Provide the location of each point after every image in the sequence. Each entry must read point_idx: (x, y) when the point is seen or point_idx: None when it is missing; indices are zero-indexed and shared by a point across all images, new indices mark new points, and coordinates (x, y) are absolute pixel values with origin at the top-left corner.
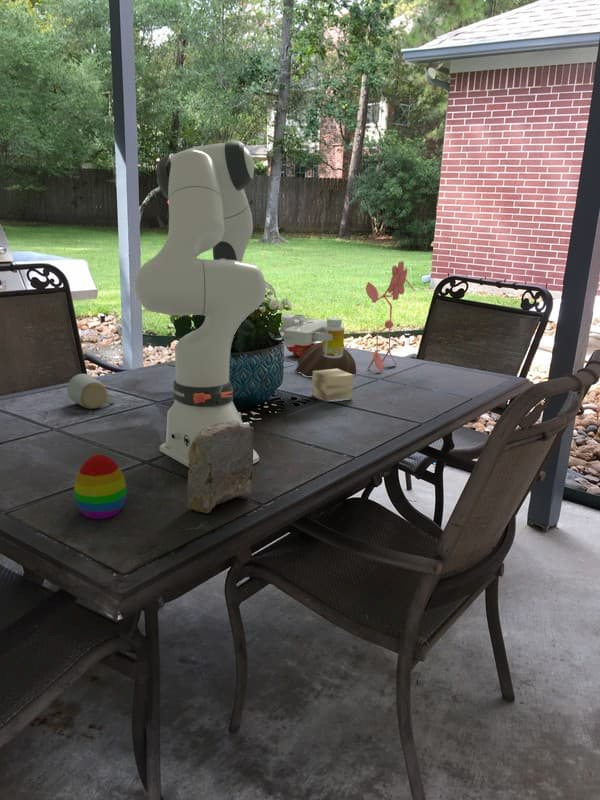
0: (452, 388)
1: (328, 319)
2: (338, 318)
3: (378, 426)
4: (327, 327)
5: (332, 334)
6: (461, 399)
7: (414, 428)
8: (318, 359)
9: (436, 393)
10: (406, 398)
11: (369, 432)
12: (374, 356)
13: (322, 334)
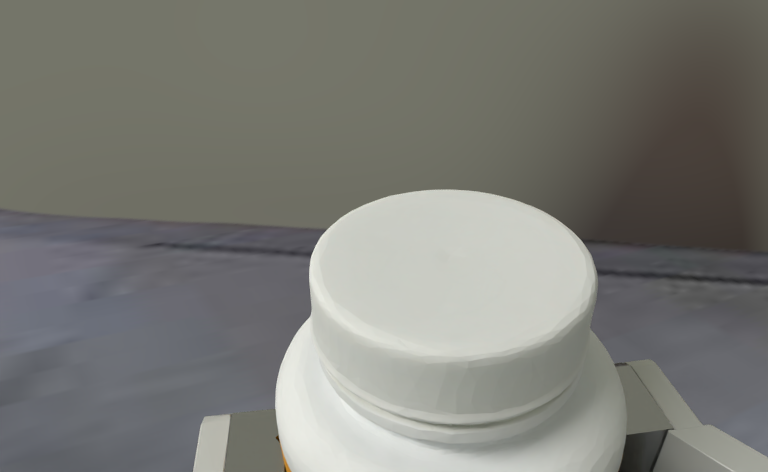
0: (4, 305)
1: (594, 297)
2: (369, 229)
3: (658, 339)
4: (614, 396)
5: (618, 364)
6: (168, 259)
7: None
8: None
9: (102, 324)
10: (226, 380)
11: (742, 338)
12: None
13: (761, 465)
